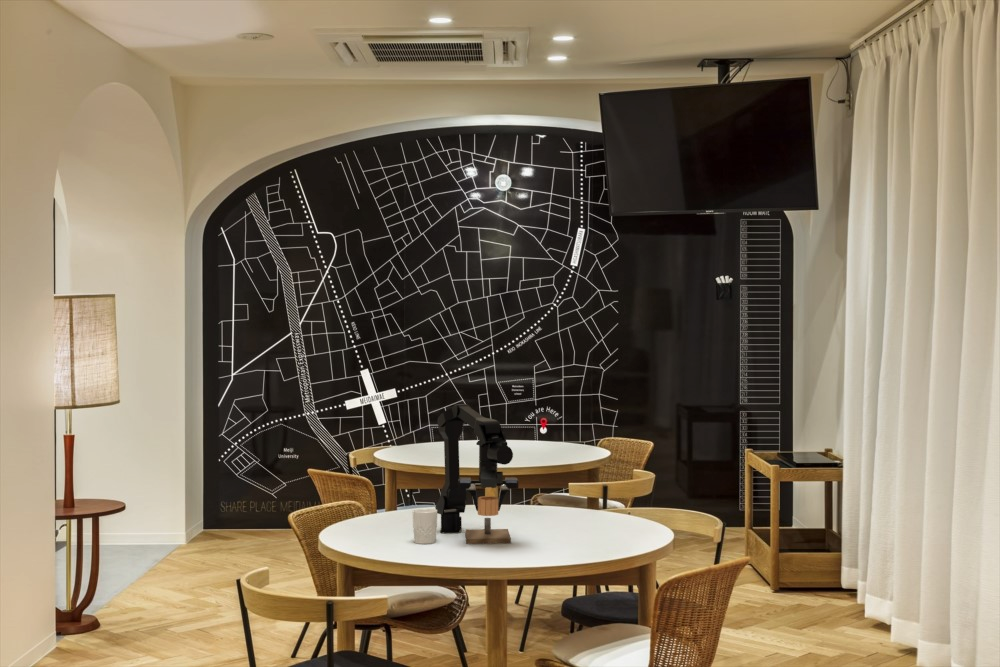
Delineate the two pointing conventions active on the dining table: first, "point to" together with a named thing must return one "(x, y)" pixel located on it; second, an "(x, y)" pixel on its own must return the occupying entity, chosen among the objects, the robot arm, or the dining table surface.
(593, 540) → the dining table surface
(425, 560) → the dining table surface
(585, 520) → the dining table surface
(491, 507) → the orange short hollow cylinder
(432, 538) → the white cup
